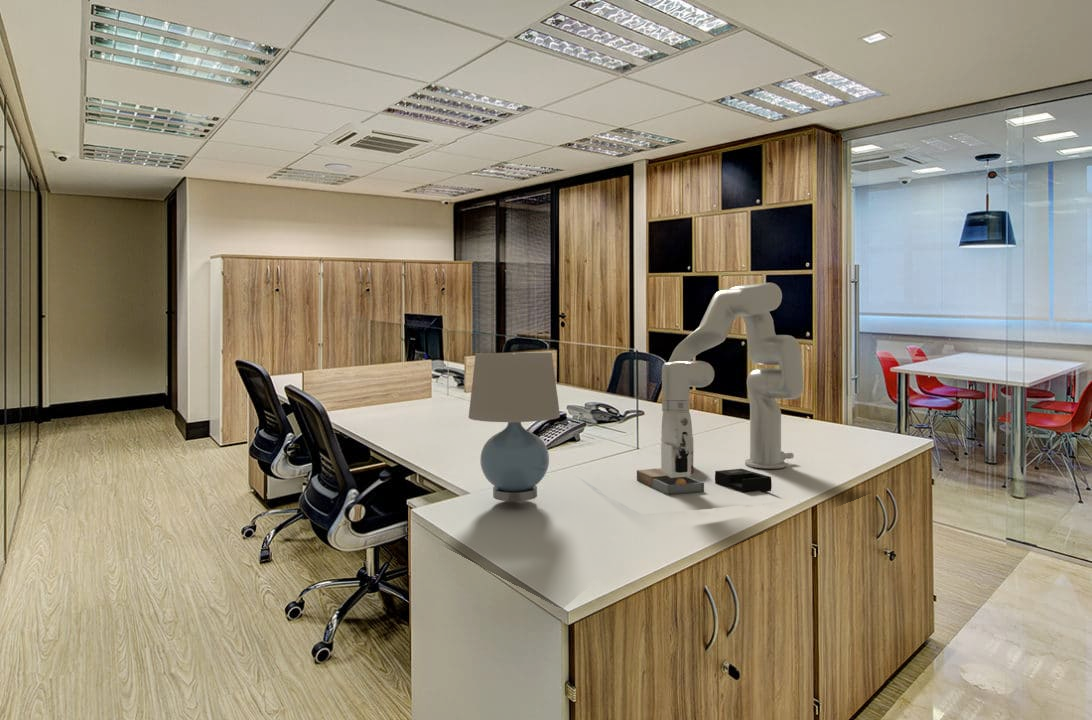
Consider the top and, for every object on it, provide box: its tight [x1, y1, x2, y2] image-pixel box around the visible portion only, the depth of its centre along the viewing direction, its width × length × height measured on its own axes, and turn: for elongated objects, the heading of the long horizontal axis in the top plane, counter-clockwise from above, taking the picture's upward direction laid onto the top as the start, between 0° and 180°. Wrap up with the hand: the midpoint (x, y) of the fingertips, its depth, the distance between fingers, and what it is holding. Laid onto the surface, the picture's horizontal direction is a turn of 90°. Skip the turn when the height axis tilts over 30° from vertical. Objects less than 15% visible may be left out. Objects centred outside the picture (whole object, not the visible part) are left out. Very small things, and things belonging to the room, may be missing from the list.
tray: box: [650, 476, 705, 496], centre depth 172 cm, size 11×10×2 cm
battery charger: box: [714, 468, 773, 494], centre depth 175 cm, size 13×10×4 cm
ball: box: [675, 478, 686, 485], centre depth 170 cm, size 3×3×3 cm
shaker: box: [660, 442, 692, 478], centre depth 173 cm, size 6×6×10 cm
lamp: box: [468, 352, 561, 502], centre depth 166 cm, size 25×25×39 cm
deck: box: [636, 467, 668, 488], centre depth 181 cm, size 11×10×3 cm
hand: (675, 469), depth 173 cm, fingers closed on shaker, 6 cm apart
